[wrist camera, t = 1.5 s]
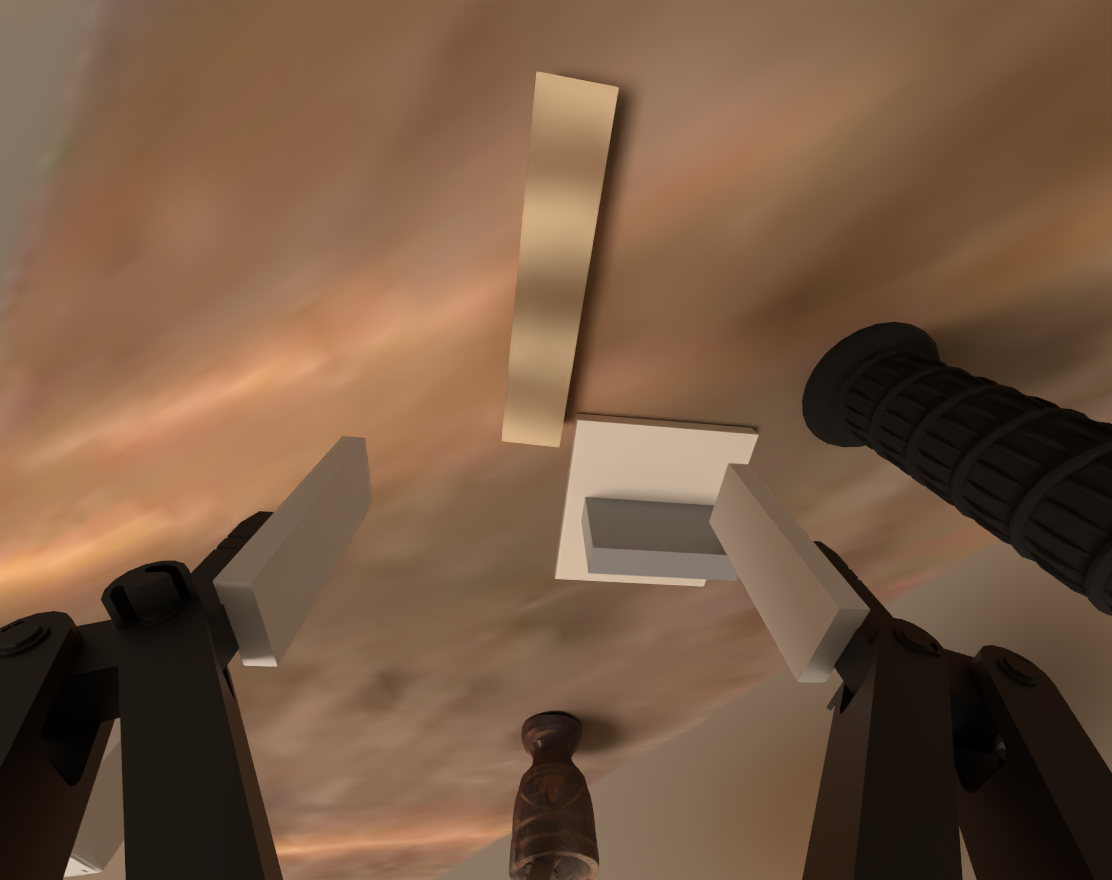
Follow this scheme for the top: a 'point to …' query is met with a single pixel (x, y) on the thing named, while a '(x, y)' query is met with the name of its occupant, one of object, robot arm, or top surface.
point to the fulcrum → (646, 500)
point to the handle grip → (976, 448)
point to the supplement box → (101, 814)
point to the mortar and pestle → (553, 807)
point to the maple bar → (555, 250)
